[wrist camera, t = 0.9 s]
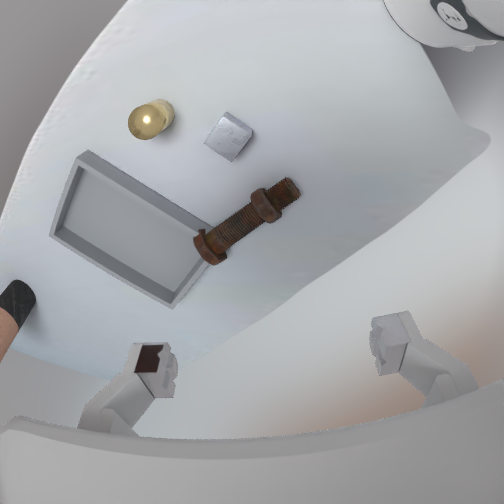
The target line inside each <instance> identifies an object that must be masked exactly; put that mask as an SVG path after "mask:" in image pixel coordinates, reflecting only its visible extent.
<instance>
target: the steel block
mask: <svg viewBox="0 0 504 504" xmlns="http://www.w3.org/2000/svg"><path fill="white" fill-rule="evenodd" d="M251 136H252V129H251V128H250V127H248V126H247V125H245V124H244V123H242V122H241V121H239V120H238V119H237V118H235V117H234V116H232V115H231V114H229V113H228V112H225V114H224V115H223V116H222V118H221V119H220V120H219V122H218V123H217V125H216V126H215V127H214V129H213V130H212V132H211V133H210V134H209V136H208V137H207V139H206V140H205V142H204V144H205V145H207V146H208V147H210V148H211V149H213V150H214V151H216V152H217V153H219V154H220V155H222V156H223V157H225V158H226V159H228V160H229V161H231V162H232V161H233V160H234V158H235V157H236V156H237V154H238V153H239V152H240V150H241V149H242V148H243V147H244V145H245V144H246V143H247V141H248V140H249V139H250V138H251Z"/></svg>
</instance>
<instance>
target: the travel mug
mask: <svg viewBox="0 0 504 504" xmlns="http://www.w3.org/2000/svg"><path fill="white" fill-rule="evenodd" d="M35 301H36V298H35V295H34V293H33V291H32V290H31V288H30V287H29V286H28V285H27V284H25V283H24V282H22V281H20V280H14V281H12V282H11V283H10V285H9V286H8V287H7V288H6V289H5V290H4V292H3V293H2V294H1V295H0V362H1V360H2V358H3V357H4V355H5V353H6V352H7V350H8V348H9V346H10V345H11V343H12V341H13V340H14V338H15V337H16V335H17V333H18V332H19V330H20V328H21V326H22V325H23V323H24V321H25V319H26V318H27V316H28V314H29V313H30V311H31V309H32V308H33V306H34V304H35Z"/></svg>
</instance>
